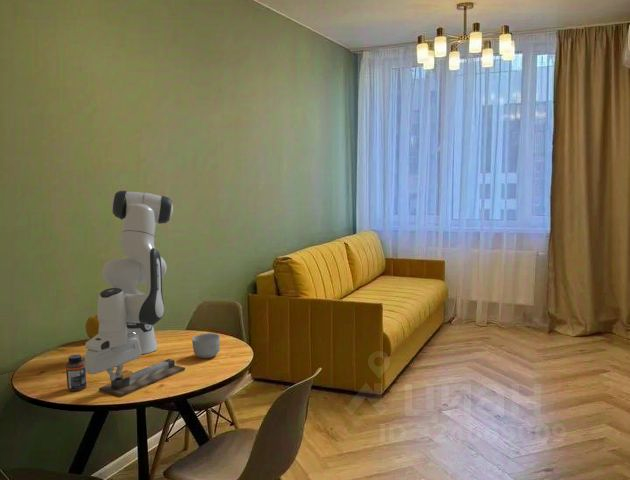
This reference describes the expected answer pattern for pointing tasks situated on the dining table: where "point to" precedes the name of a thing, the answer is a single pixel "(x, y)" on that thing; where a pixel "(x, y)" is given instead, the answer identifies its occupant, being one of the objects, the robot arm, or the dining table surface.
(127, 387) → the board
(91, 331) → the apple
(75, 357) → the supplement bottle
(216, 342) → the teacup
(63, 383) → the dining table surface
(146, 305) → the robot arm
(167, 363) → the tongs arm
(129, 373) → the tab
